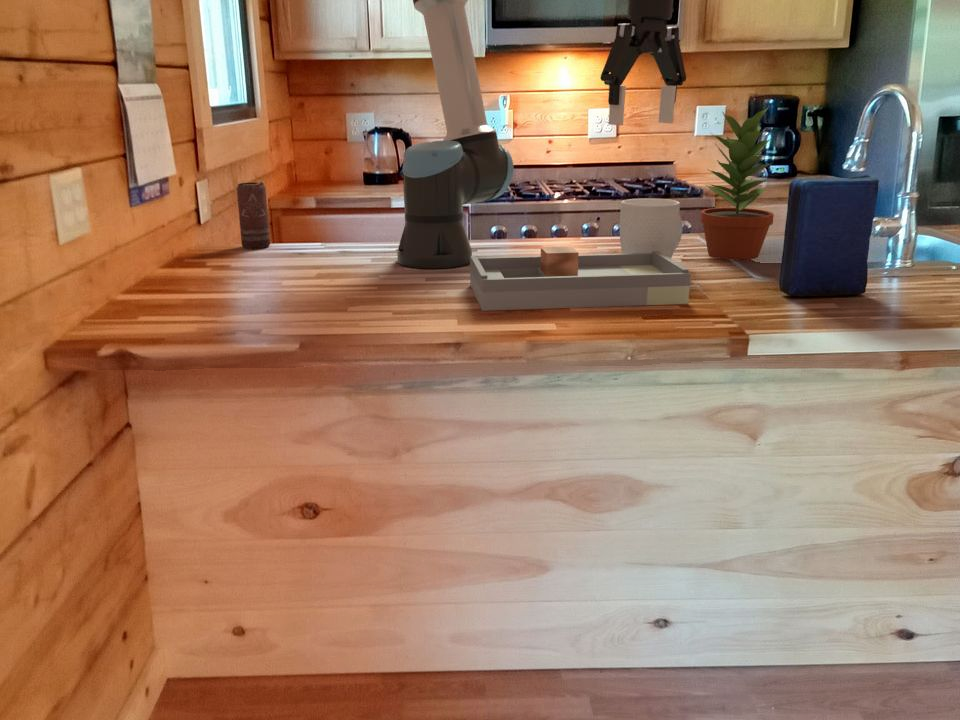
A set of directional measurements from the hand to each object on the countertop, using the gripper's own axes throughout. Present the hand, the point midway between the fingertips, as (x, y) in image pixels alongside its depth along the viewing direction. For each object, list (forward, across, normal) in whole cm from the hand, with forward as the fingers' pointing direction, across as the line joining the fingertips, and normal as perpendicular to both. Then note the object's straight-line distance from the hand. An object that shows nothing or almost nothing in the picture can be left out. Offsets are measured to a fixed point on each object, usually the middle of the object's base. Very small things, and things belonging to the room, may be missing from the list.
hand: (641, 124), depth 152 cm
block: (+24, -19, 0) cm, 31 cm away
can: (+30, -42, +72) cm, 89 cm away
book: (+27, +11, -33) cm, 44 cm away
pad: (+27, -8, -12) cm, 31 cm away
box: (+27, -21, -4) cm, 35 cm away
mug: (+28, +6, 0) cm, 28 cm away
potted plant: (+27, +30, -2) cm, 40 cm away
